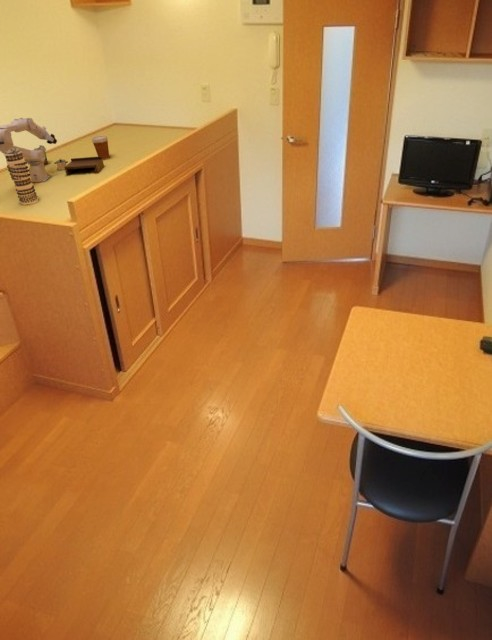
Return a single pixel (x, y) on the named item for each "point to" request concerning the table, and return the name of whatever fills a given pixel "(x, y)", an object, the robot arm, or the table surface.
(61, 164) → the pot
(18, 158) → the leaning tower model
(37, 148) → the food container
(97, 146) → the disposable coffee cup
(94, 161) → the shelf
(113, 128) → the table surface
